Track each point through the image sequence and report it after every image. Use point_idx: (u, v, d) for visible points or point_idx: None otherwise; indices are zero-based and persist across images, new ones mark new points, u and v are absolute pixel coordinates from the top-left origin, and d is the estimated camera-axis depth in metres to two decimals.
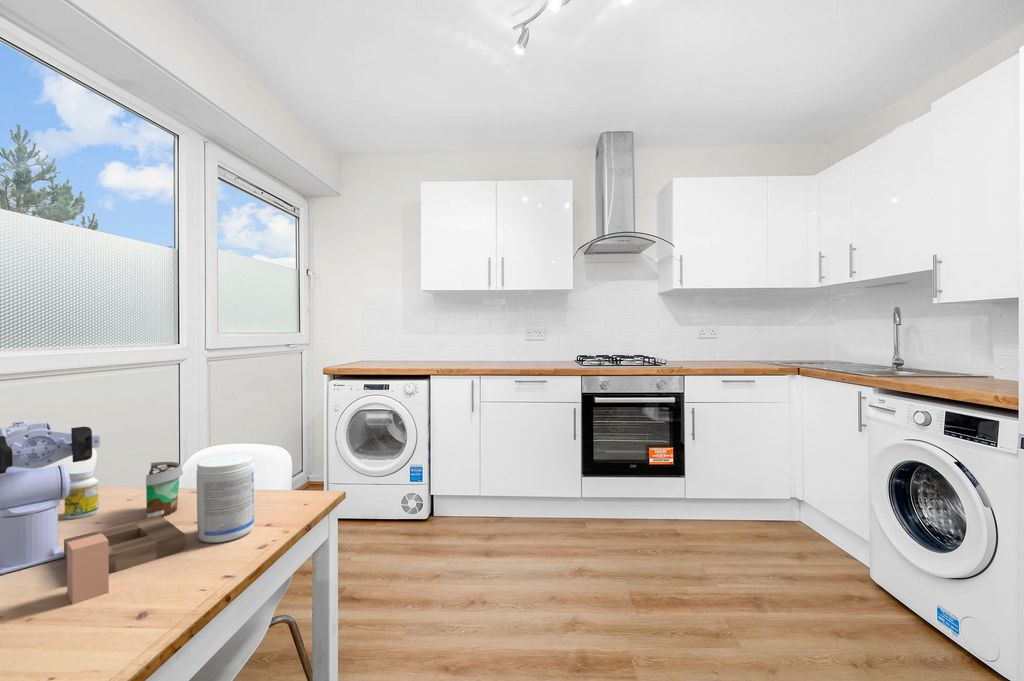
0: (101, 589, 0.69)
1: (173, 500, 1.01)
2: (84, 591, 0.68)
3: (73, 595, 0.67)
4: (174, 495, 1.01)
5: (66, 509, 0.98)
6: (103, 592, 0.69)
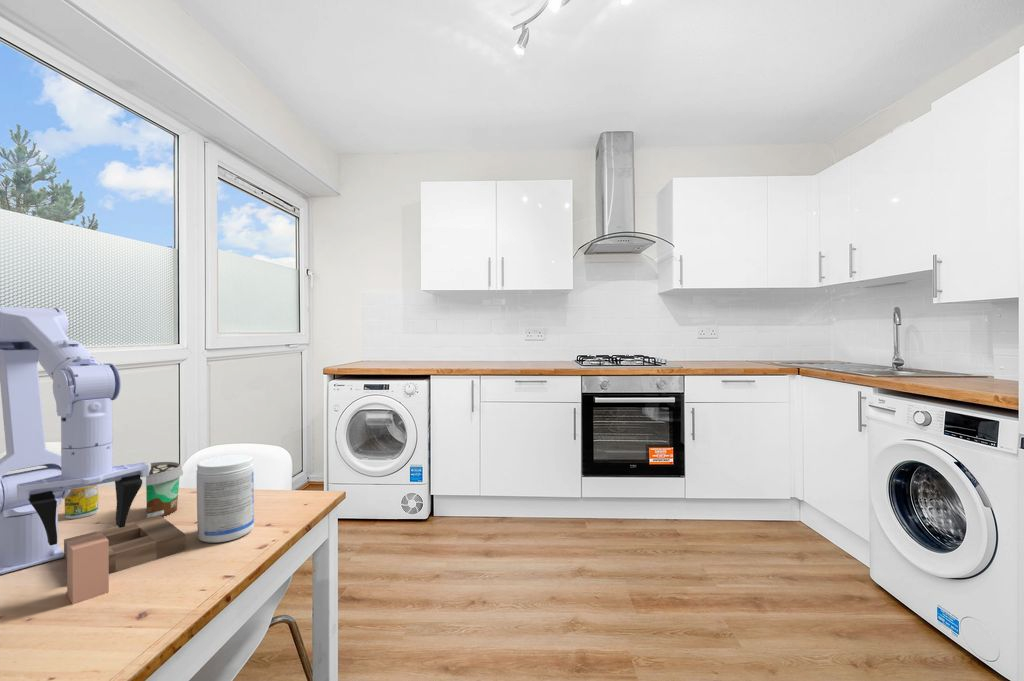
0: (101, 589, 0.69)
1: (173, 500, 1.01)
2: (84, 591, 0.68)
3: (73, 595, 0.67)
4: (174, 495, 1.01)
5: (66, 509, 0.98)
6: (103, 592, 0.69)
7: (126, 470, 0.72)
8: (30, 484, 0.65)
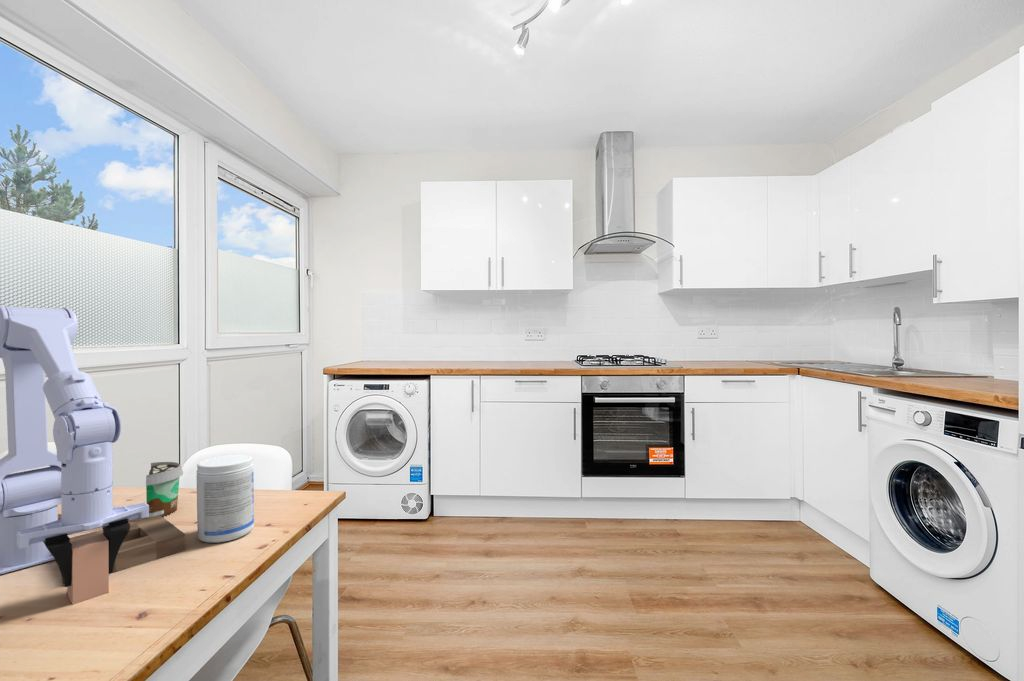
0: (101, 589, 0.69)
1: (173, 500, 1.01)
2: (83, 591, 0.68)
3: (73, 595, 0.67)
4: (174, 495, 1.01)
5: None
6: (103, 592, 0.69)
7: (126, 513, 0.72)
8: (30, 531, 0.65)
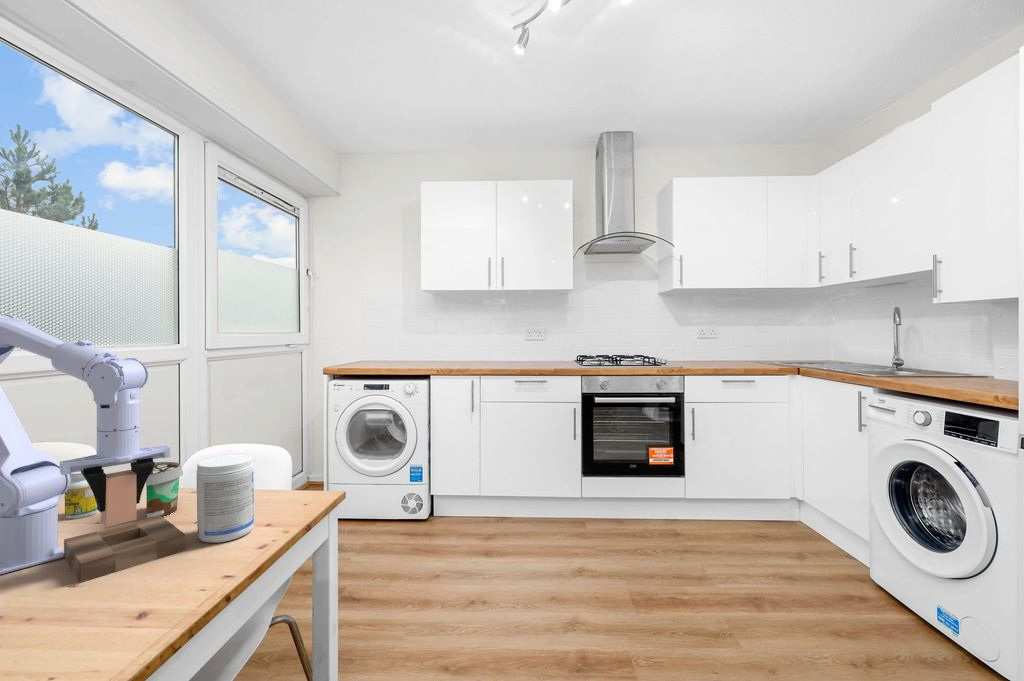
0: (130, 516, 0.80)
1: (173, 500, 1.01)
2: (115, 516, 0.78)
3: (107, 519, 0.77)
4: (174, 495, 1.01)
5: (66, 509, 0.98)
6: (132, 519, 0.80)
7: (151, 451, 0.82)
8: (71, 461, 0.75)
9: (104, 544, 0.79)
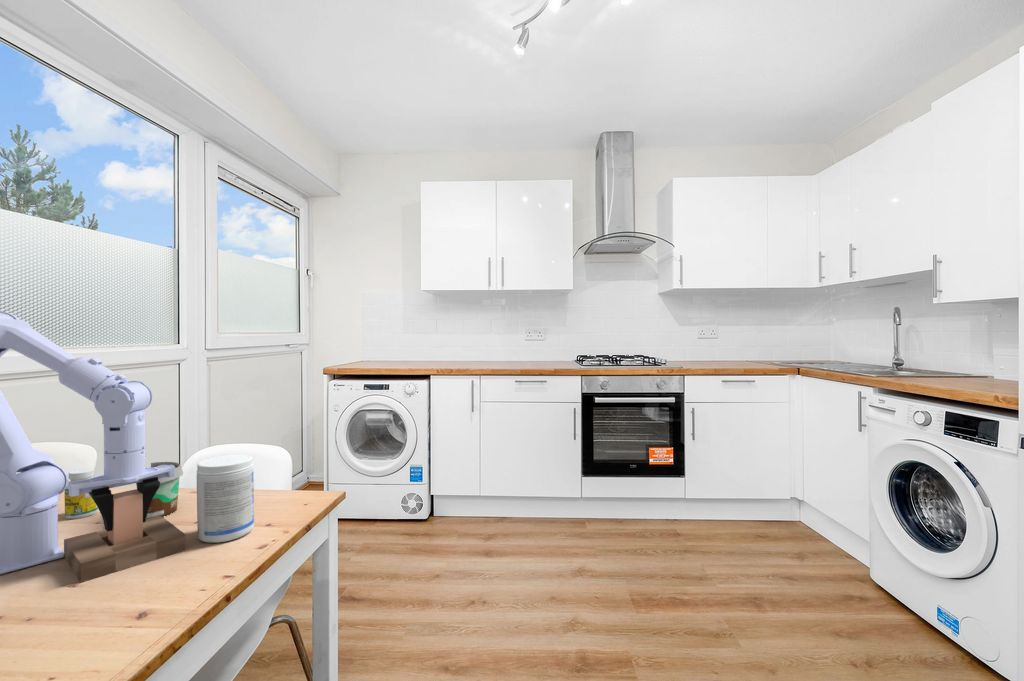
0: (137, 534, 0.82)
1: (173, 500, 1.01)
2: (123, 535, 0.81)
3: (114, 538, 0.80)
4: (174, 495, 1.01)
5: (66, 509, 0.98)
6: (138, 537, 0.82)
7: (157, 471, 0.85)
8: (79, 483, 0.78)
9: (104, 544, 0.79)
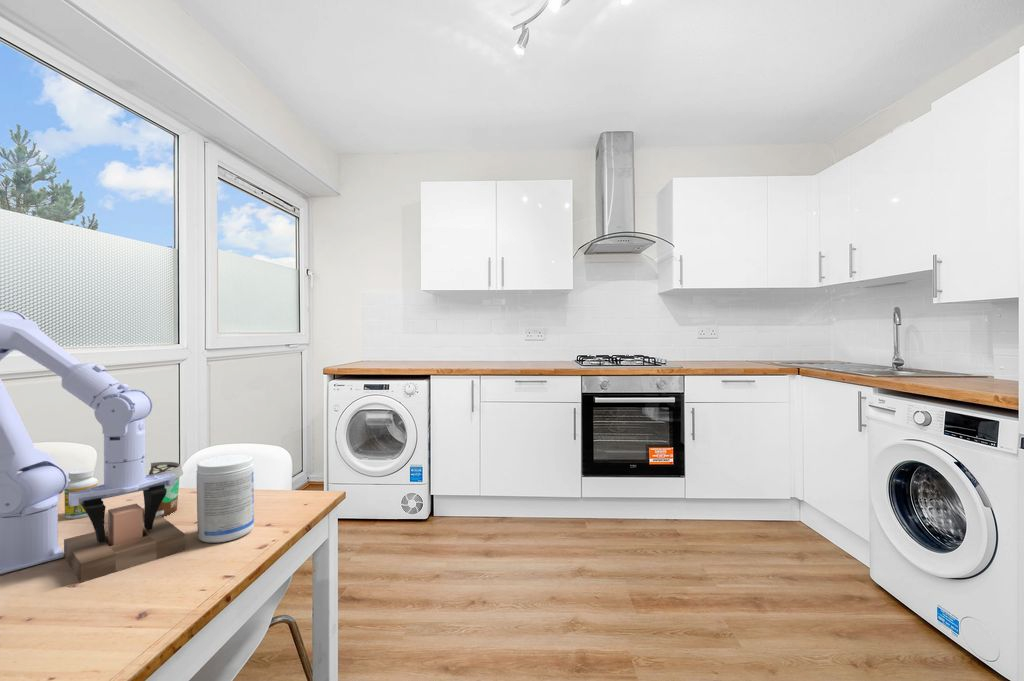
0: None
1: (173, 500, 1.01)
2: None
3: None
4: (174, 495, 1.01)
5: (66, 509, 0.98)
6: None
7: (156, 480, 0.85)
8: (79, 493, 0.78)
9: (104, 544, 0.79)
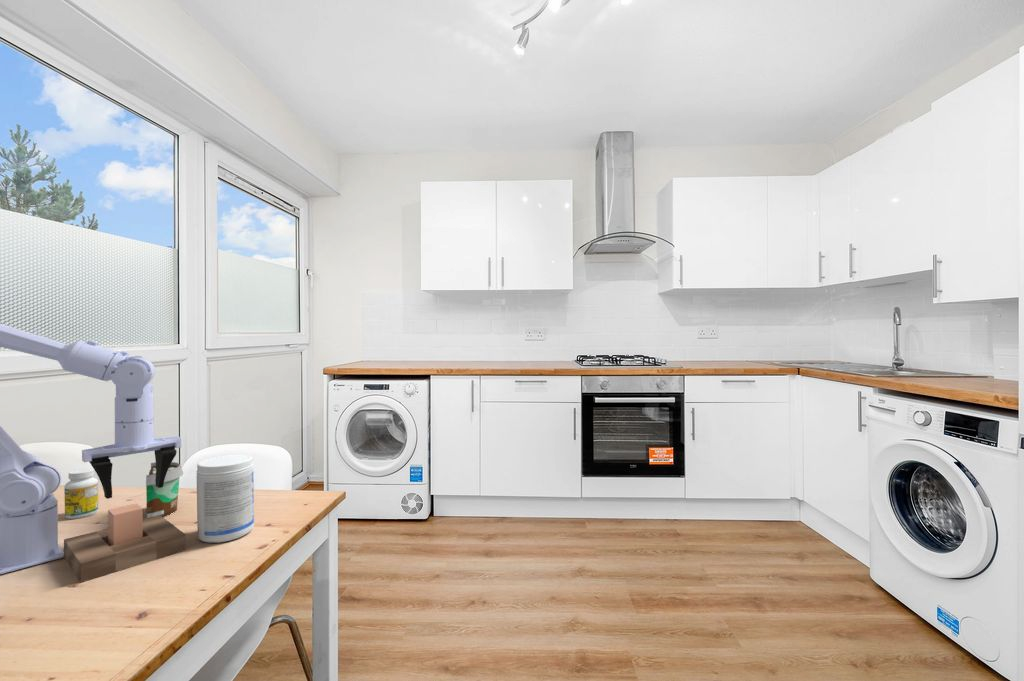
0: None
1: (173, 500, 1.01)
2: None
3: None
4: (174, 495, 1.01)
5: (66, 509, 0.98)
6: None
7: (164, 442, 0.89)
8: (92, 450, 0.82)
9: (104, 544, 0.79)
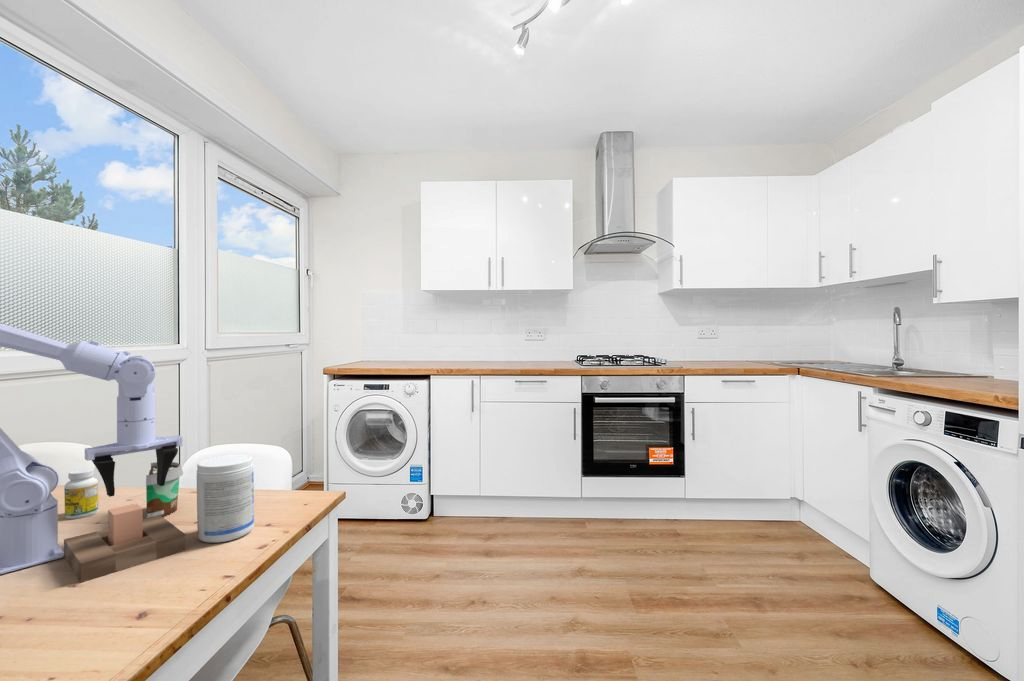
0: None
1: (173, 500, 1.01)
2: None
3: None
4: (174, 495, 1.01)
5: (66, 509, 0.98)
6: None
7: (165, 440, 0.91)
8: (95, 448, 0.83)
9: (104, 544, 0.79)
